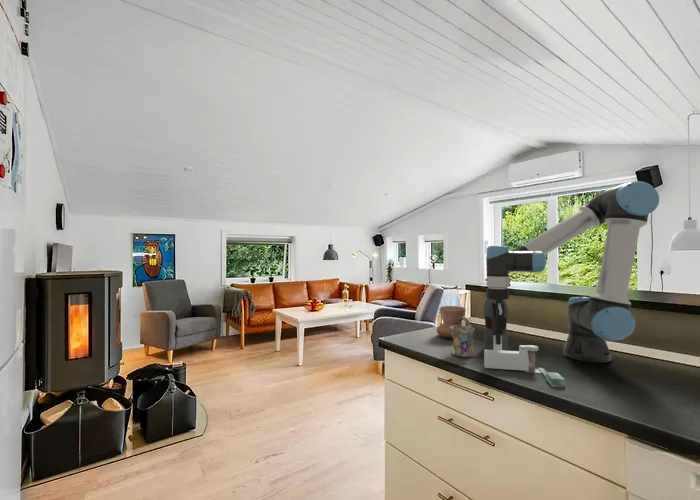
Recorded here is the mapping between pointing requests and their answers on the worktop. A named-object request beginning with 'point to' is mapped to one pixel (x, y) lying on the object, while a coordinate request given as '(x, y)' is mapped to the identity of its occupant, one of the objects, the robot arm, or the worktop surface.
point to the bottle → (488, 325)
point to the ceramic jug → (451, 319)
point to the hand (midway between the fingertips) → (497, 352)
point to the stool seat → (551, 377)
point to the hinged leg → (508, 358)
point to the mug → (462, 341)
